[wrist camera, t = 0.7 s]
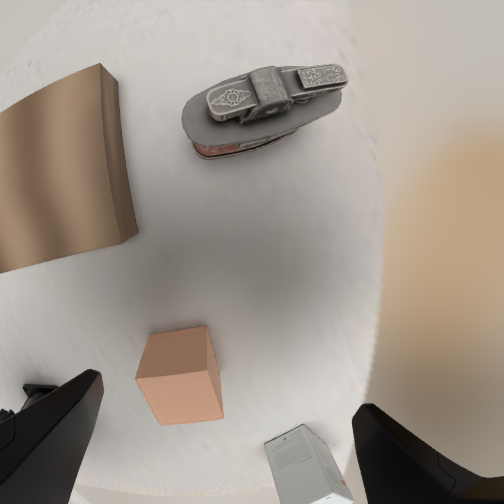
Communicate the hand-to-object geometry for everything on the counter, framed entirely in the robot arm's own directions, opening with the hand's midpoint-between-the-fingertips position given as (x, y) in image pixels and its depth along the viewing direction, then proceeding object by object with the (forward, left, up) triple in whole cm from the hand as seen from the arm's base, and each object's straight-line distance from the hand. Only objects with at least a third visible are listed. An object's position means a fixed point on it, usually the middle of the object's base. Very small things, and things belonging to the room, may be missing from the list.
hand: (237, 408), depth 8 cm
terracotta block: (-4, -7, -14) cm, 16 cm away
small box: (+5, -25, -14) cm, 29 cm away
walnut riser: (-11, +10, -14) cm, 21 cm away
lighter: (+4, +10, -14) cm, 18 cm away
